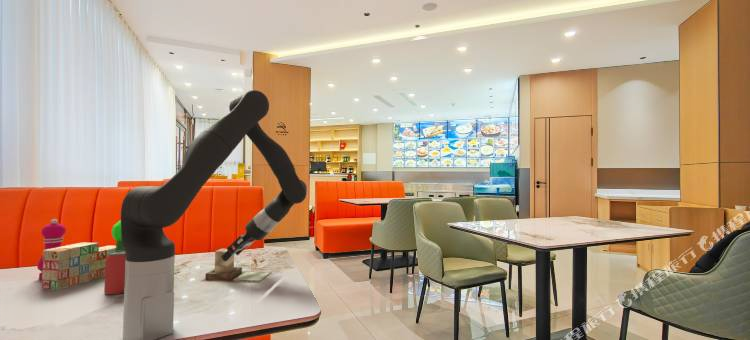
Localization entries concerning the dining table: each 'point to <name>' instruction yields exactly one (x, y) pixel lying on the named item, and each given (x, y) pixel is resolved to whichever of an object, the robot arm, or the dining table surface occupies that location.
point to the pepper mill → (51, 238)
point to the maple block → (223, 262)
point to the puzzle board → (236, 276)
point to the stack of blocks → (73, 264)
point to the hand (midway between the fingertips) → (229, 256)
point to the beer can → (115, 272)
